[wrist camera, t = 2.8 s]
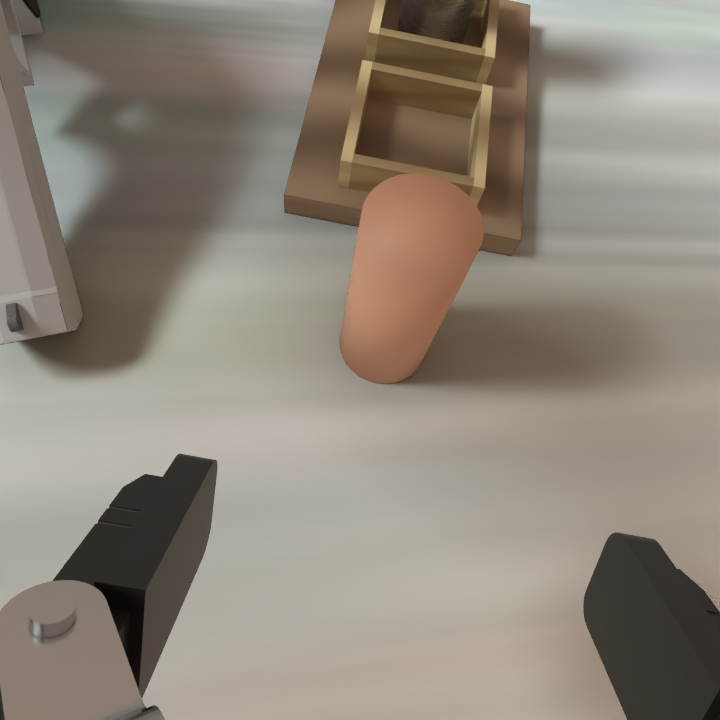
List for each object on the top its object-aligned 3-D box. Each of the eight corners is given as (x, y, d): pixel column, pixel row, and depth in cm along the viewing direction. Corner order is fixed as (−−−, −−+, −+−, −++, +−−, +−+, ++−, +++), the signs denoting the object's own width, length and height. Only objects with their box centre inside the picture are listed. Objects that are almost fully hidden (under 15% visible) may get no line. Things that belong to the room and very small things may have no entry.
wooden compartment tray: (511, 255, 32) (534, 216, 29) (284, 212, 32) (283, 167, 29) (522, 25, 41) (541, -25, 37) (342, -12, 40) (347, -66, 37)
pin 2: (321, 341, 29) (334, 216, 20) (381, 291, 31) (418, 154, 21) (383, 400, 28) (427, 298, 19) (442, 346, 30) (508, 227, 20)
